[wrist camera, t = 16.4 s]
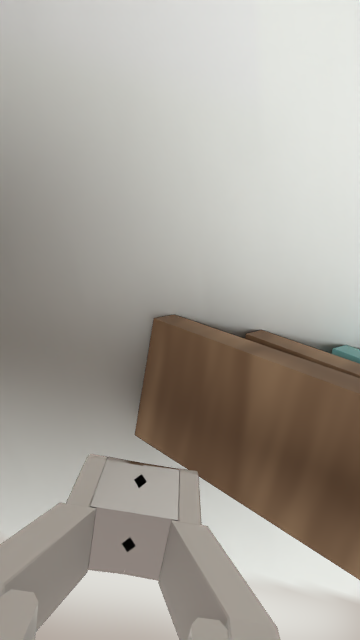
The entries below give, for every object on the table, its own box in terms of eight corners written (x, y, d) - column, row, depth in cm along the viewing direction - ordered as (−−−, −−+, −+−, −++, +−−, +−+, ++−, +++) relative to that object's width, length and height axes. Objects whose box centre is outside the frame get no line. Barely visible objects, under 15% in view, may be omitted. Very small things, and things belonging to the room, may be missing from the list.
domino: (134, 435, 15) (364, 583, 10) (153, 318, 13) (438, 422, 8) (154, 421, 16) (366, 546, 11) (174, 314, 14) (429, 402, 9)
